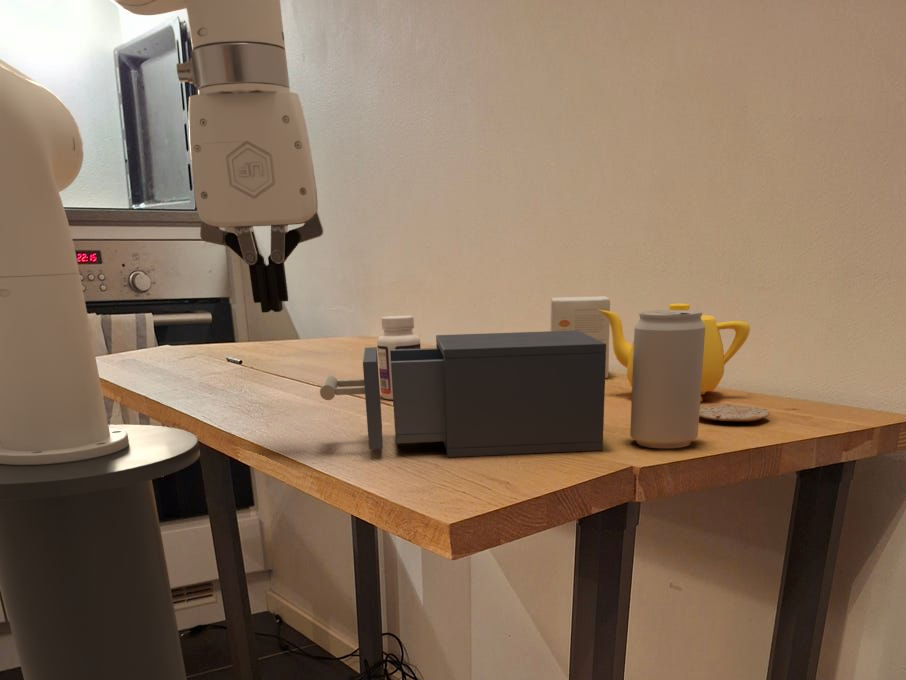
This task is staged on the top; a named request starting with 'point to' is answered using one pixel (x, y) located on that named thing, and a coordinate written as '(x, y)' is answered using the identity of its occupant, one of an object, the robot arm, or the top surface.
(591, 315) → the small box
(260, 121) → the robot arm
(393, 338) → the pill bottle
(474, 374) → the cabinet
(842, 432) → the top surface
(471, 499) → the top surface
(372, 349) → the drawer
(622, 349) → the teapot
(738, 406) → the flatbread
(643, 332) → the beverage can
